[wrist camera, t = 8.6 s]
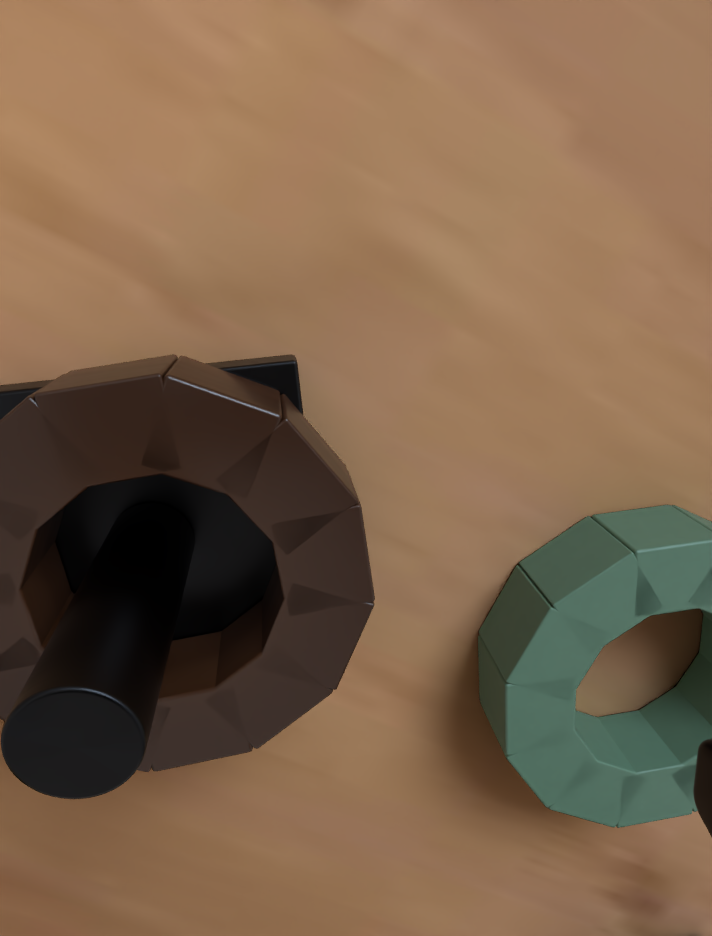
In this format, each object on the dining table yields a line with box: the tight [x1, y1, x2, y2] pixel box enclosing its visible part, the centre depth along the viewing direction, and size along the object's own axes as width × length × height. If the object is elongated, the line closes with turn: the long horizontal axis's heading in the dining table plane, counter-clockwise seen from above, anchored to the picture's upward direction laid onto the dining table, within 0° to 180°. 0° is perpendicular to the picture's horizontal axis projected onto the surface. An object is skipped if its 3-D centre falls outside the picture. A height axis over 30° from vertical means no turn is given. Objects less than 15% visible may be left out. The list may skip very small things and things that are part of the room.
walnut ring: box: [0, 355, 375, 772], centre depth 15 cm, size 9×9×2 cm
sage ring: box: [478, 505, 712, 828], centre depth 19 cm, size 9×9×2 cm
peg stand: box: [0, 355, 303, 799], centre depth 13 cm, size 8×8×8 cm
